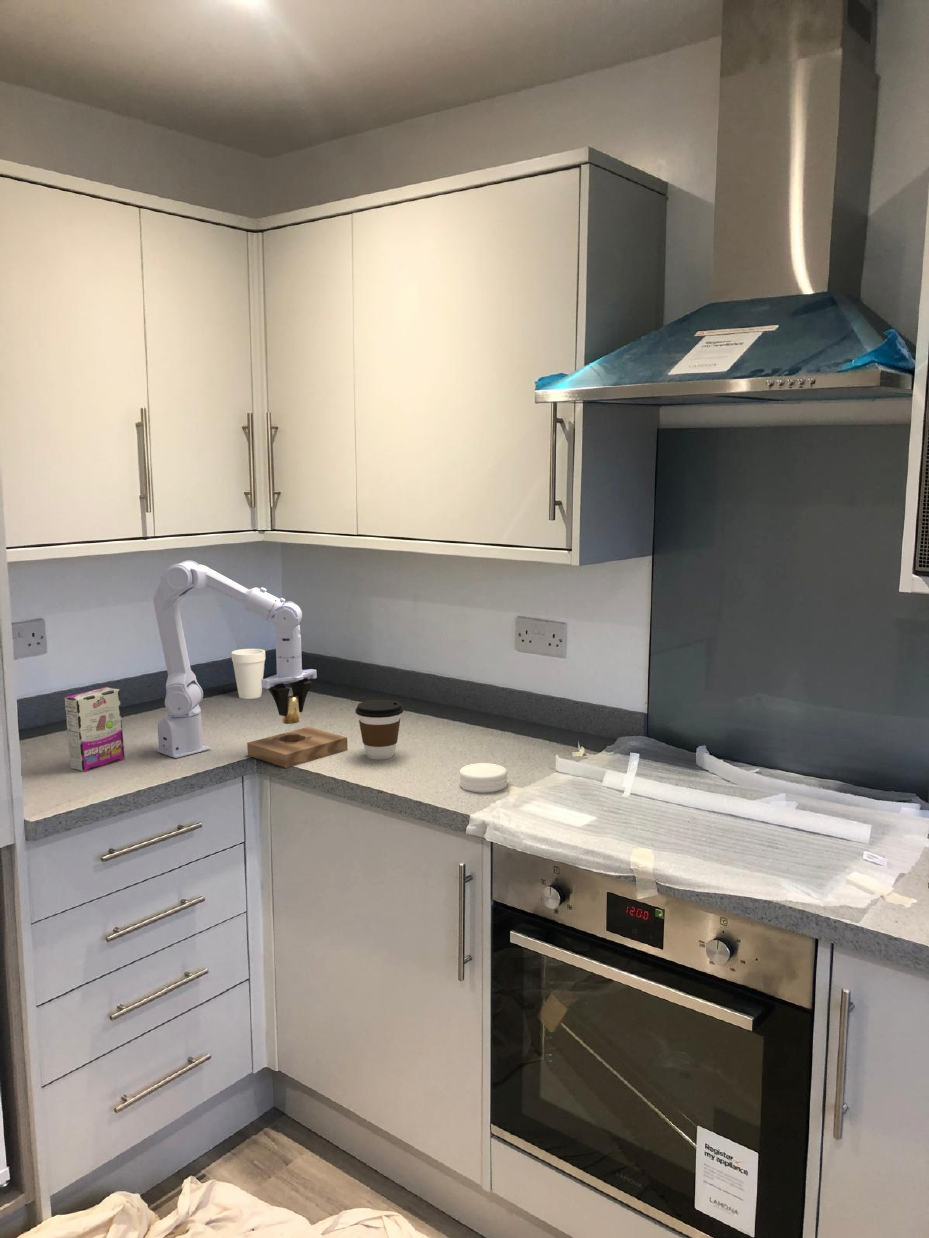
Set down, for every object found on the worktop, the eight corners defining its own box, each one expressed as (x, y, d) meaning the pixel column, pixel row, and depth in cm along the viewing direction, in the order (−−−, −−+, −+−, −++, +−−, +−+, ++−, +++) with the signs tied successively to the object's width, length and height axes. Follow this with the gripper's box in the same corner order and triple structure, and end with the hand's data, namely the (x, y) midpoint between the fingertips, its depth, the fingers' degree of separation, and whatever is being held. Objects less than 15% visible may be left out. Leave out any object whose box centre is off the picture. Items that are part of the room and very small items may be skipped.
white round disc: (497, 796, 196) (497, 779, 195) (451, 790, 199) (451, 773, 199) (514, 781, 205) (514, 765, 204) (470, 775, 208) (470, 760, 208)
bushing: (289, 724, 222) (288, 699, 221) (278, 721, 225) (277, 696, 224) (303, 721, 225) (302, 695, 224) (292, 718, 228) (291, 693, 227)
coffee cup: (401, 747, 229) (400, 697, 227) (406, 761, 218) (406, 709, 216) (354, 749, 227) (353, 699, 225) (357, 764, 216) (356, 711, 214)
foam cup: (273, 693, 282) (271, 649, 280) (255, 701, 273) (253, 655, 271) (245, 691, 285) (243, 647, 283) (226, 698, 277) (224, 653, 275)
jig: (285, 767, 213) (285, 754, 213) (247, 755, 223) (247, 742, 222) (347, 749, 227) (347, 737, 226) (308, 738, 236) (308, 726, 235)
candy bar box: (110, 755, 222) (106, 686, 220) (125, 759, 220) (121, 688, 217) (68, 768, 213) (63, 696, 210) (82, 772, 210) (77, 699, 208)
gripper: (274, 663, 214) (276, 722, 217) (324, 653, 225) (326, 710, 227) (254, 658, 219) (257, 717, 221) (305, 649, 230) (306, 705, 232)
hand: (290, 713), depth 225 cm, fingers closed on bushing, 4 cm apart
